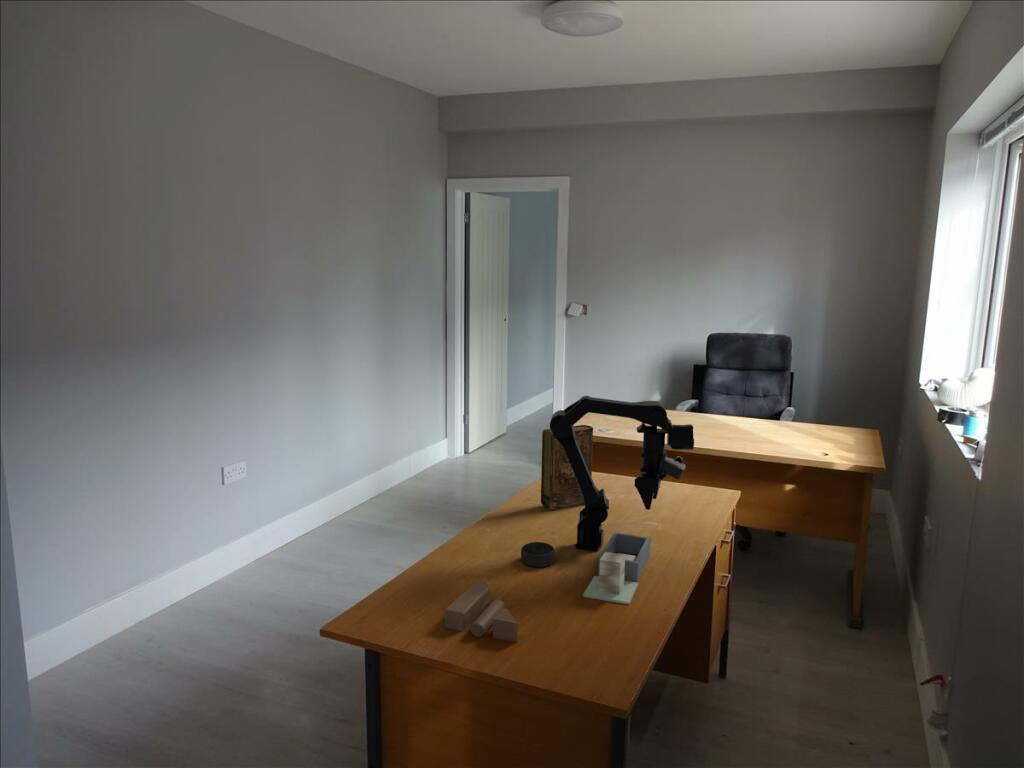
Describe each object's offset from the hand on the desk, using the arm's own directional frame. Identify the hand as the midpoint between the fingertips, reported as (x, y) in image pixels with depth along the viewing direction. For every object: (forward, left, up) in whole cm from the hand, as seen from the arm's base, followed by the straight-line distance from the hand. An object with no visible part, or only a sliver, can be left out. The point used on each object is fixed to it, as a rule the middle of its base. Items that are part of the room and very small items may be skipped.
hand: (651, 504), depth 208 cm
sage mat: (-4, -29, -13) cm, 32 cm away
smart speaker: (-26, -19, -13) cm, 35 cm away
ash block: (-4, -29, -12) cm, 32 cm away
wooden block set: (-25, -52, -14) cm, 59 cm away
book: (-31, +26, -13) cm, 43 cm away
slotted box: (-4, -13, -13) cm, 19 cm away
